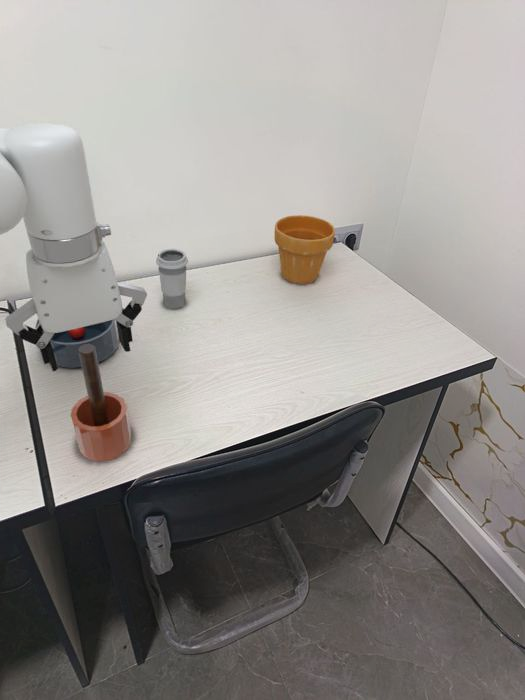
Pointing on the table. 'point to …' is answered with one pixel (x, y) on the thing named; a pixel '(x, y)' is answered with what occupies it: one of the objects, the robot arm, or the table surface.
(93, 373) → the stick
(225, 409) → the table surface
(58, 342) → the bowl
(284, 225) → the flower pot
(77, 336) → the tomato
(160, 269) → the cup
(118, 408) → the holder
